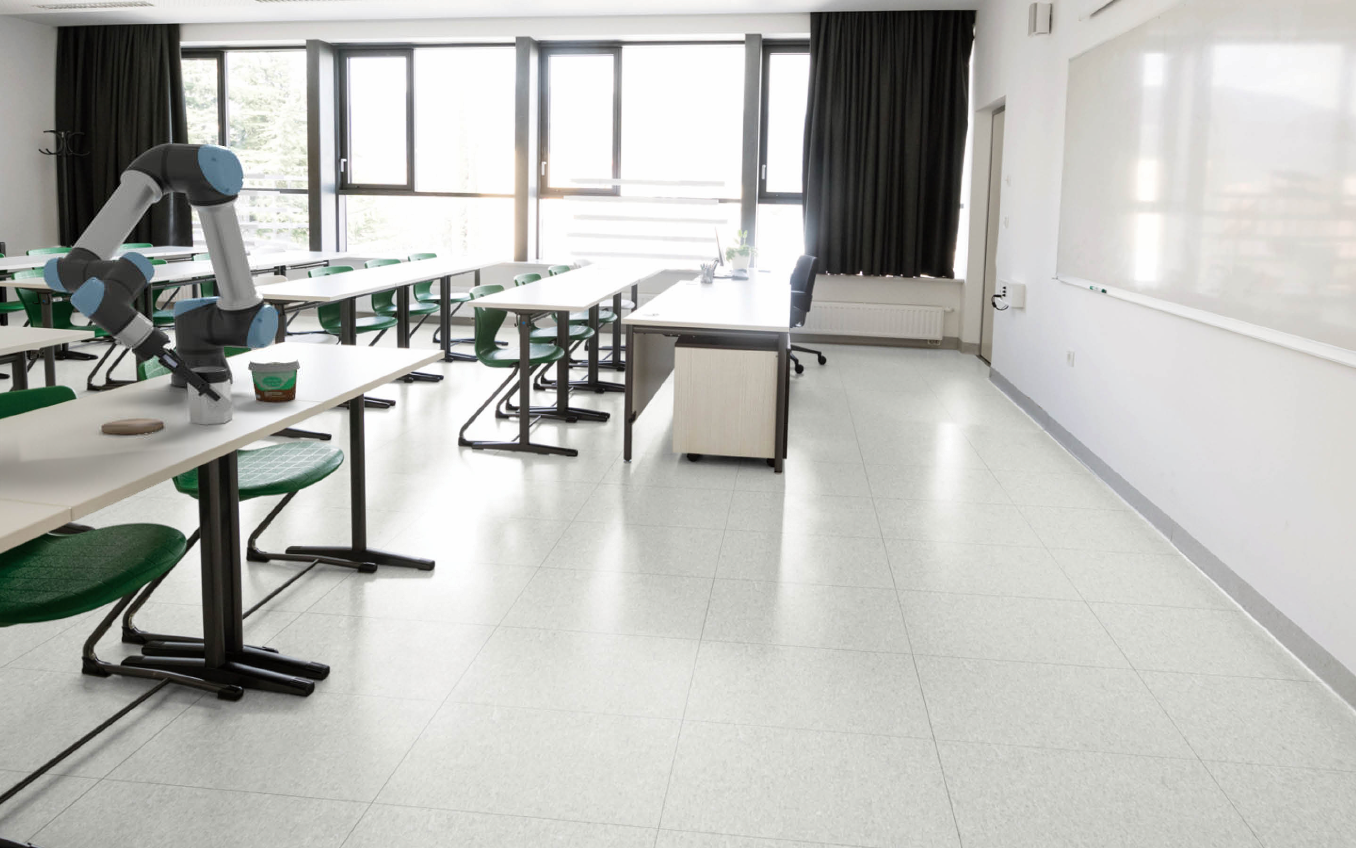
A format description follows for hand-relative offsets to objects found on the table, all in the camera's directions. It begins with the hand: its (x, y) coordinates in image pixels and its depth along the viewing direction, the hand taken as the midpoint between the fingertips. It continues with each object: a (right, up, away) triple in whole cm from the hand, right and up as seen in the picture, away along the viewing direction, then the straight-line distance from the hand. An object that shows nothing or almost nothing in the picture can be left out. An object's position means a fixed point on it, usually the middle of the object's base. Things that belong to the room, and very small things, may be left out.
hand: (226, 404), depth 233 cm
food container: (+2, +1, +23) cm, 24 cm away
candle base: (-16, -6, -11) cm, 20 cm away
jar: (-3, -4, -1) cm, 5 cm away
